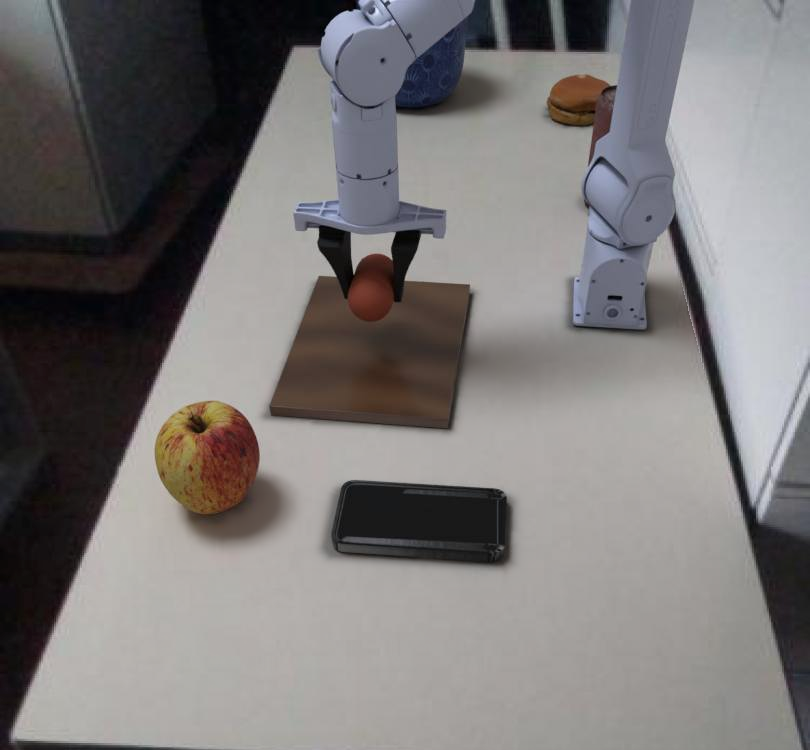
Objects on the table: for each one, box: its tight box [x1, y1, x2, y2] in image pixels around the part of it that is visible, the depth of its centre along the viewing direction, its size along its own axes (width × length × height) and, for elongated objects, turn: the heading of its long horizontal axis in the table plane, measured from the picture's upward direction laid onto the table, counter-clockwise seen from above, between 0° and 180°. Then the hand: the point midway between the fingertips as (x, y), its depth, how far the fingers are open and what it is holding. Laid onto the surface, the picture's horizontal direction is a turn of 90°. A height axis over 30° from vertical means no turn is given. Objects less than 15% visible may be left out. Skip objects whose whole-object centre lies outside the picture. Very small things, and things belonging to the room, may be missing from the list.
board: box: [268, 275, 471, 429], centre depth 93 cm, size 24×18×1 cm
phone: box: [330, 479, 508, 563], centre depth 75 cm, size 8×1×15 cm
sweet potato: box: [348, 253, 394, 322], centre depth 87 cm, size 9×5×5 cm, turn 172°
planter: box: [355, 0, 469, 109], centre depth 131 cm, size 17×17×15 cm
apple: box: [154, 400, 261, 515], centre depth 75 cm, size 9×9×10 cm
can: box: [582, 84, 617, 209], centre depth 108 cm, size 6×6×14 cm
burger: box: [546, 74, 612, 126], centre depth 130 cm, size 10×9×5 cm
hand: (374, 295), depth 88 cm, fingers closed on sweet potato, 4 cm apart
